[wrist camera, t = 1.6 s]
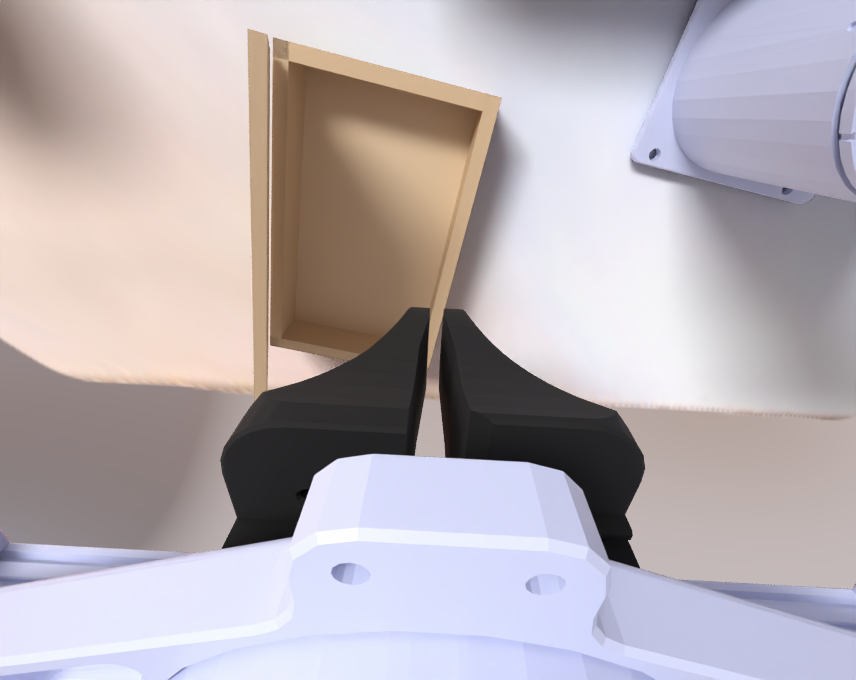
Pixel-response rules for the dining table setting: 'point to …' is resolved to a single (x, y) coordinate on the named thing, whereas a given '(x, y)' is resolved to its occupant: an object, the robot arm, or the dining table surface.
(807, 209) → the dining table surface
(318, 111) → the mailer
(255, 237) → the lid
